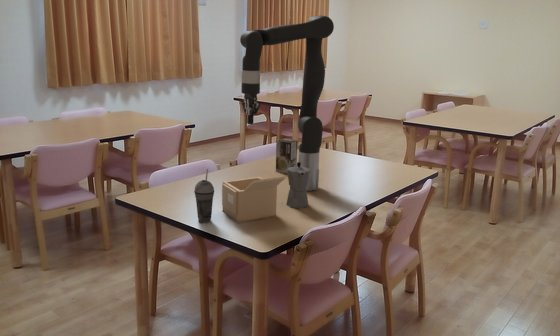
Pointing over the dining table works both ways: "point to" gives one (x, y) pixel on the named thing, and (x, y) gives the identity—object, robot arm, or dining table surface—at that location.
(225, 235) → the dining table surface
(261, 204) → the carton
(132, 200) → the dining table surface
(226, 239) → the dining table surface
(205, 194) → the beverage cup
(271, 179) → the flap
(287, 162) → the coffee box
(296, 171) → the coffeepot
